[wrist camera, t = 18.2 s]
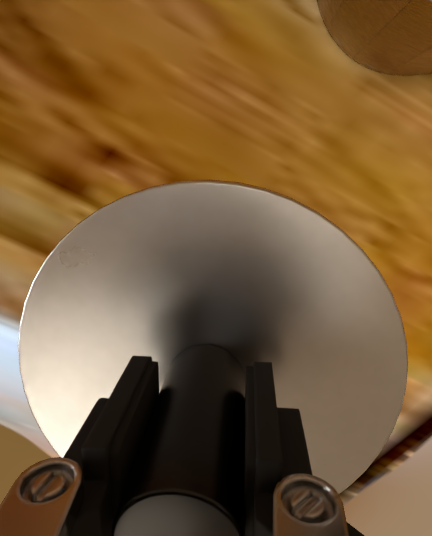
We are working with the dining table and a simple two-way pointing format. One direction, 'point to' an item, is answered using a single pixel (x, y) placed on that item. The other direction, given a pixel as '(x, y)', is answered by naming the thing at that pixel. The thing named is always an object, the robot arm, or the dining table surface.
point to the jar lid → (213, 342)
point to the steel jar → (383, 33)
